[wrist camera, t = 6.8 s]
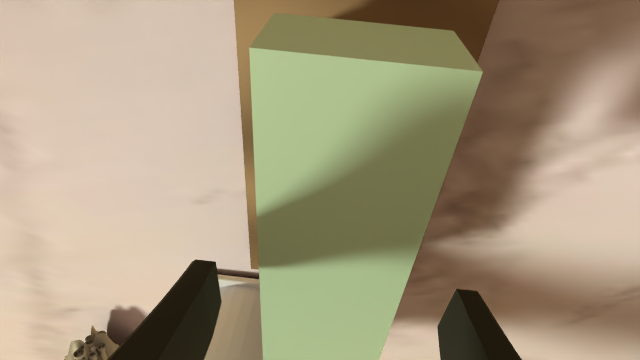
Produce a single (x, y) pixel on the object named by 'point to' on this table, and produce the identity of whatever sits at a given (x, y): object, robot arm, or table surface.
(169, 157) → the table surface
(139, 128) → the table surface
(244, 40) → the peg base
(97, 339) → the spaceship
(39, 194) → the table surface
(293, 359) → the shelf board
